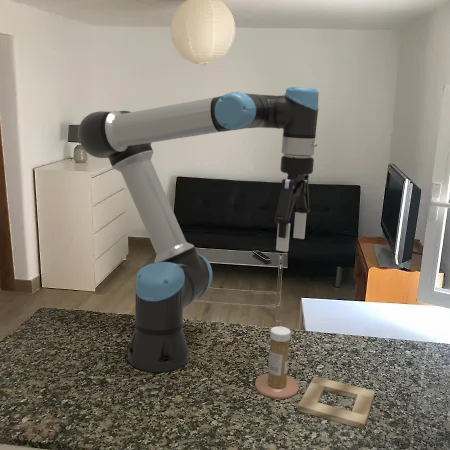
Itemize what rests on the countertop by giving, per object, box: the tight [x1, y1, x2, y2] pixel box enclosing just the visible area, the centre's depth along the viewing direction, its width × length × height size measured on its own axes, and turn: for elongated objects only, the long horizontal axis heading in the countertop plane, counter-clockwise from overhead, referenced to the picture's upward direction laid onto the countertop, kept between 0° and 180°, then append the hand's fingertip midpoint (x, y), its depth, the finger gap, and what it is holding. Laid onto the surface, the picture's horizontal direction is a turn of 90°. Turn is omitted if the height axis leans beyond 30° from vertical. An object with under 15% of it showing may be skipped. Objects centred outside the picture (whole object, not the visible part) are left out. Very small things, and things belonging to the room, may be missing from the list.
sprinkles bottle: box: [267, 325, 292, 388], centre depth 119 cm, size 5×5×13 cm
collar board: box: [297, 376, 376, 430], centre depth 115 cm, size 14×14×1 cm
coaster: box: [254, 372, 300, 400], centre depth 121 cm, size 10×10×1 cm
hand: (290, 244), depth 126 cm, fingers open, 13 cm apart
